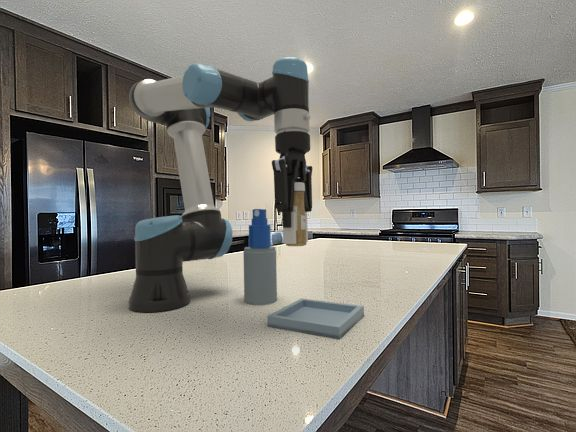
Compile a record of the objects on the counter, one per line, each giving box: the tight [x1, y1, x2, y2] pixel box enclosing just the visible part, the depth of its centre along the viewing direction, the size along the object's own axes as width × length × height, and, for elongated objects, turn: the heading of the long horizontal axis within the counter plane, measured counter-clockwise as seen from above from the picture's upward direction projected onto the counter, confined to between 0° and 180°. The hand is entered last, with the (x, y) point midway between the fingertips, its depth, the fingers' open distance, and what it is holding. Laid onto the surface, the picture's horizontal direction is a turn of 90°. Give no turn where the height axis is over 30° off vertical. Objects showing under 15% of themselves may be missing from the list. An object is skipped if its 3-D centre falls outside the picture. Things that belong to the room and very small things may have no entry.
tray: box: [266, 297, 365, 340], centre depth 74 cm, size 16×16×2 cm
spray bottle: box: [243, 208, 278, 306], centre depth 92 cm, size 9×9×25 cm
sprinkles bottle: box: [285, 182, 308, 247], centre depth 72 cm, size 5×5×13 cm
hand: (295, 242), depth 72 cm, fingers closed on sprinkles bottle, 4 cm apart
